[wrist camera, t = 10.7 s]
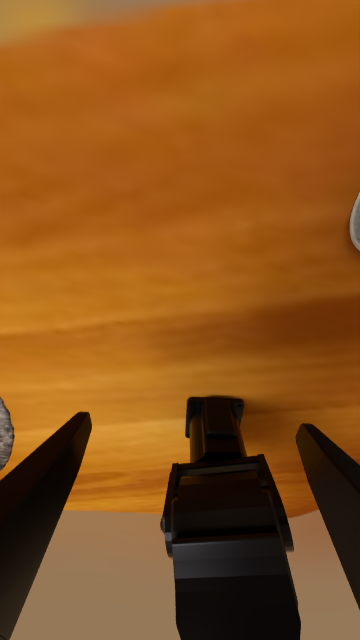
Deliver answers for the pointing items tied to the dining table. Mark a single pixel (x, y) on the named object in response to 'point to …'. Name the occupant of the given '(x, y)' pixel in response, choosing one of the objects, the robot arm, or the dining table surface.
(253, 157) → the dining table surface
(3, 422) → the ancient coin
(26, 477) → the robot arm
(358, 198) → the ceramic mug
